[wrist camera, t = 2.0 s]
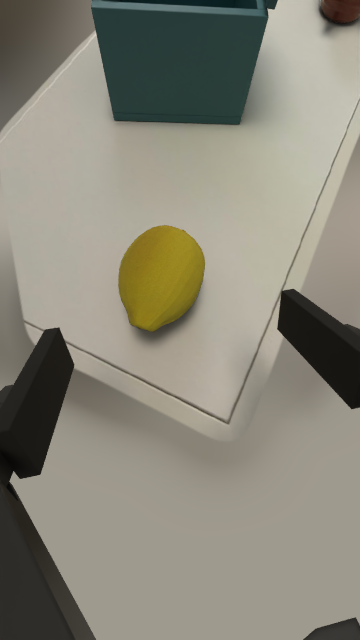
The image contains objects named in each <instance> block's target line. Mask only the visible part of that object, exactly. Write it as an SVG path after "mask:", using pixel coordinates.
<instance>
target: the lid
mask: <svg viewBox="0 0 360 640" xmlns="http://www.w3.org/2000/svg"><path fill="white" fill-rule="evenodd" d="M277 1H278V0H266V5H267V8H268V9H275V7H276V4H277Z"/></svg>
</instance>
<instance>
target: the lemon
mask: <svg viewBox="0 0 360 640" xmlns="http://www.w3.org/2000/svg"><path fill="white" fill-rule="evenodd" d="M204 269H205V259H204V255H203V252H202V249H201V248H200V246H199V245H198V243H197V242H196V241H195V240H194V238H192V237H191V236H190V235H189V234H187V233H186V231H184V230H180V229H178V228H175V227H172V226H166V225H164V226H157V227H153V228H151V229H149V230H147V231H145V232H144V233H143V234H141V235H140V236H139V237H138V238H137V239H136V240H135V241H134V242H133V243H132V244H131V246H130V247H129V248H128V250H127V251H126V253H125V254H124V257H123V259H122V261H121V265H120V269H119V285H118V286H119V294H120V297H121V300H122V302H123V304H124V306H125V308H126V311H127V313H128V318H129V322H130V324H131V325H133V326H136V327H138V328H139V329H144V330H147V331H151V332H153V331H156V330H157V329H159V328H160V327H161V326H163V325H165V324H168V323H171V322H173V321H175V320H177V319H178V318H180V317H181V316H182V315H183V314H184V313H185V312H186V311H187V310H188V309H189V308H190V307H191V306H192V304H193V303H194V301H195V299H196V297H197V295H198V293H199V291H200V288H201V284H202V281H203V276H204Z"/></svg>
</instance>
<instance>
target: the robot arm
mask: <svg viewBox="0 0 360 640" xmlns="http://www.w3.org/2000/svg"><path fill="white" fill-rule="evenodd" d="M277 329H278V330H279V331H280V333H281V334H282V335H283V336H284V337H285V338H286V339H287V340H288V341H289V342H290V343H291V344H292V345H293V346H294V348H295V349H296V350H297V351H298V352H299V353H300V354H301V355H302V356H303V357H304V358H305V359H306V360H307V362H308V363H309V364H310V365H311V366H312V367H313V368H314V369H315V370H316V371H317V372H318V373H319V375H320V376H321V377H322V378H323V379H324V380H325V381H326V382H327V383H328V384H329V385H330V386H331V387H332V389H333V390H334V391H335V392H336V393H337V394H338V395H339V396H340V397H341V398H342V399H343V400H344V402H345V403H346V404H347V405H348V406H349V407H350V408H351V409H355V408H359V407H360V329H358V328H356V327H353V326H351V325H348V324H345V325H343V324H342V323H341V322H339V321H338V320H336V319H335V318H334V317H332V316H331V315H329V314H328V313H327V312H325V311H324V310H322V309H321V308H320V307H318V306H317V305H315V304H314V303H313V302H311V301H310V300H308V299H307V298H306V297H304V296H303V295H301V294H300V293H299V292H297V291H296V290H294V289H290V290H284V291H282V293H281V301H280V310H279V319H278V328H277ZM73 368H74V363H73V360H72V358H71V355H70V353H69V350H68V348H67V346H66V343H65V341H64V338H63V336H62V333H61V331H60V328H53V329H46V330H45V331H44V332H43V334H42V336H41V338H40V339H39V341H38V343H37V345H36V346H35V348H34V350H33V352H32V354H31V355H30V357H29V359H28V360H27V362H26V364H25V366H24V367H23V369H22V371H21V373H20V374H19V376H18V378H17V380H16V381H15V383H14V385H9V386H5V387H4V388H3V389H2V390H1V391H0V640H96V638H95V637H94V635H93V633H92V631H91V629H90V627H89V626H88V624H87V622H86V620H85V618H84V616H83V614H82V613H81V611H80V609H79V607H78V605H77V603H76V602H75V600H74V598H73V596H72V594H71V593H70V591H69V589H68V587H67V585H66V583H65V581H64V580H63V578H62V576H61V574H60V572H59V570H58V569H57V567H56V565H55V563H54V561H53V559H52V557H51V555H50V554H49V552H48V550H47V548H46V546H45V544H44V543H43V541H42V539H41V537H40V535H39V533H38V532H37V530H36V528H35V526H34V524H33V522H32V520H31V519H30V517H29V515H28V513H27V511H26V510H25V508H24V506H23V504H22V502H21V500H20V498H19V496H18V495H17V493H16V491H15V489H14V487H13V485H12V484H11V483H10V482H9V481H10V478H11V476H12V473H13V471H14V472H15V473H16V475H17V476H18V477H19V478H20V479H22V478H27V477H32V476H37V475H40V474H41V471H42V468H43V465H44V461H45V458H46V455H47V452H48V449H49V445H50V442H51V439H52V436H53V433H54V429H55V426H56V423H57V420H58V416H59V413H60V410H61V407H62V403H63V400H64V397H65V394H66V391H67V387H68V384H69V381H70V378H71V374H72V371H73ZM303 640H360V625H359V623H358V621H357V619H356V618H352V619H348V620H345V621H341V622H338V623H334V624H331V625H327V626H324V627H320V628H317V629H315V630H314V631H313V632H311V633H310V634H309V635H308V636H307V637H306V638H305V639H303Z"/></svg>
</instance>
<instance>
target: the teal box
mask: <svg viewBox="0 0 360 640" xmlns="http://www.w3.org/2000/svg"><path fill="white" fill-rule="evenodd" d="M91 9H92V14H93V19H94V23H95V29H96V33H97V38H98V43H99V48H100V53H101V58H102V63H103V68H104V72H105V77H106V82H107V87H108V92H109V97H110V102H111V106H112V111H113V116H114V120H121V121H152V122H183V123H213V124H240V121H241V117H242V114H243V110H244V106H245V102H246V99H247V95H248V91H249V88H250V84H251V80H252V76H253V73H254V69H255V65H256V61H257V58H258V54H259V50H260V47H261V43H262V39H263V35H264V32H265V28H266V24H267V21H268V10H267V5H266V0H92V5H91Z"/></svg>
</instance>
